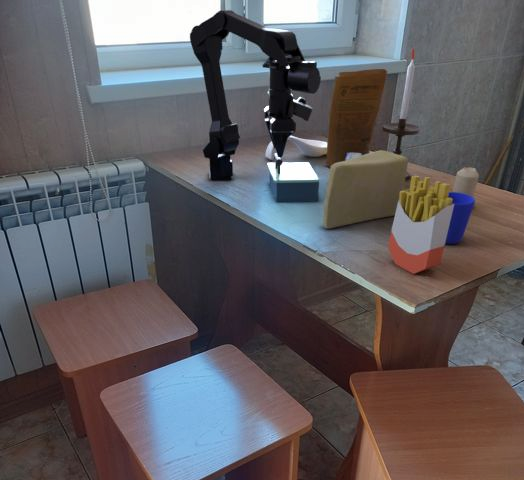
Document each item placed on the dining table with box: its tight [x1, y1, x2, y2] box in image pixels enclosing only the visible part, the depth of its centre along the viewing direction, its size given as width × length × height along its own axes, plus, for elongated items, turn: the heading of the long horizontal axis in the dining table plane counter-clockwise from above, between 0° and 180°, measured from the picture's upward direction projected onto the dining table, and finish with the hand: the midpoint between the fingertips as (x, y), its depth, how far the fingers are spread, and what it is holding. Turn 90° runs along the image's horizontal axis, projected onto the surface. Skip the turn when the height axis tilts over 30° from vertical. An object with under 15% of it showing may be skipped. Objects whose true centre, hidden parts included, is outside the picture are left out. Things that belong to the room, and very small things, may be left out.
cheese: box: [322, 150, 409, 230], centre depth 125 cm, size 22×10×15 cm, turn 127°
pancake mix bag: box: [325, 68, 388, 168], centre depth 161 cm, size 7×19×28 cm, turn 109°
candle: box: [452, 166, 480, 198], centre depth 136 cm, size 6×6×10 cm
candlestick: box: [382, 46, 421, 181], centre depth 150 cm, size 11×11×35 cm
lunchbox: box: [268, 173, 320, 203], centre depth 145 cm, size 11×16×5 cm
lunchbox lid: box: [266, 152, 320, 183], centre depth 142 cm, size 12×16×5 cm
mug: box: [445, 191, 476, 245], centre depth 117 cm, size 8×12×10 cm
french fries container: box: [388, 175, 454, 275], centre depth 103 cm, size 5×11×18 cm, turn 31°
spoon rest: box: [264, 135, 327, 161], centre depth 175 cm, size 24×12×7 cm, turn 114°
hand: (277, 152), depth 139 cm, fingers open, 9 cm apart
